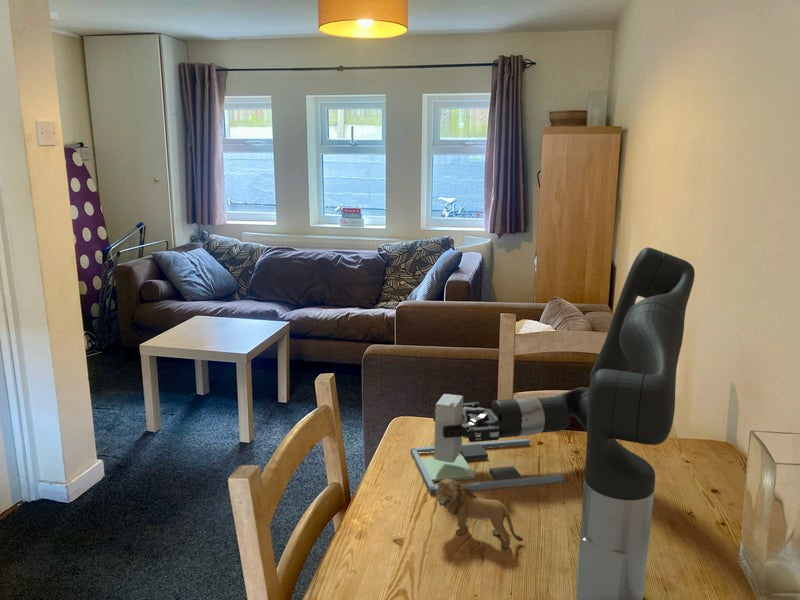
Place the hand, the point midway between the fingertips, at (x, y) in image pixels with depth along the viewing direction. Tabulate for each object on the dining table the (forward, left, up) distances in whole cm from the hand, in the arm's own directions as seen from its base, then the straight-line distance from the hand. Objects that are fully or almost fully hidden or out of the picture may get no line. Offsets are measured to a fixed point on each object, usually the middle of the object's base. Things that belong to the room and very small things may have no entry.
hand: (438, 424), depth 125 cm
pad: (+1, -1, -10) cm, 10 cm away
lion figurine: (-14, -18, -10) cm, 25 cm away
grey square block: (+6, -12, -10) cm, 17 cm away
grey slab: (+11, -2, -10) cm, 14 cm away
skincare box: (+2, -1, -7) cm, 8 cm away
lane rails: (+8, -6, -10) cm, 14 cm away
